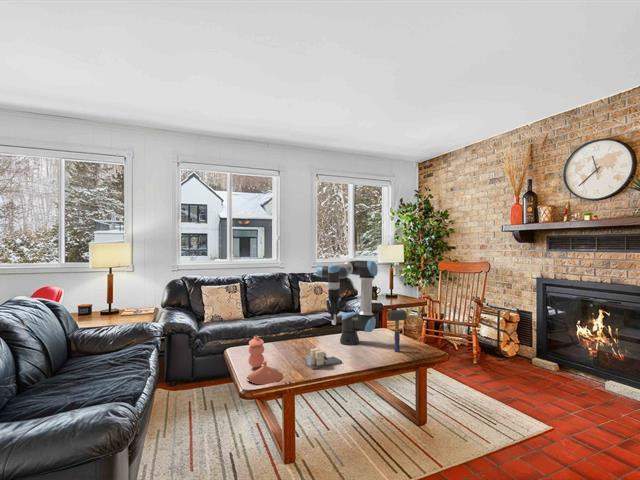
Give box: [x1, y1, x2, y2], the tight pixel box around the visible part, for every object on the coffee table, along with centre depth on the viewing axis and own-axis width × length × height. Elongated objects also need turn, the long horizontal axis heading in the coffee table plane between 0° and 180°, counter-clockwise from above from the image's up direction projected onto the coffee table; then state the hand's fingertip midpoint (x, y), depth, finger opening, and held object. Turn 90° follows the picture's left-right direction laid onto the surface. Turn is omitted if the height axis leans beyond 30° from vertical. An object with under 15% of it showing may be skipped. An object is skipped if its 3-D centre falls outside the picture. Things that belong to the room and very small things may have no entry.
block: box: [309, 347, 325, 366], centre depth 221 cm, size 8×5×8 cm, turn 32°
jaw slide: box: [324, 352, 328, 363], centre depth 222 cm, size 8×3×6 cm, turn 32°
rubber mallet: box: [387, 309, 408, 353], centre depth 247 cm, size 12×8×30 cm, turn 104°
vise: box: [304, 354, 343, 370], centre depth 224 cm, size 10×22×7 cm, turn 122°
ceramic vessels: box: [246, 335, 284, 385], centre depth 209 cm, size 35×21×19 cm, turn 25°
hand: (333, 324), depth 228 cm, fingers closed
